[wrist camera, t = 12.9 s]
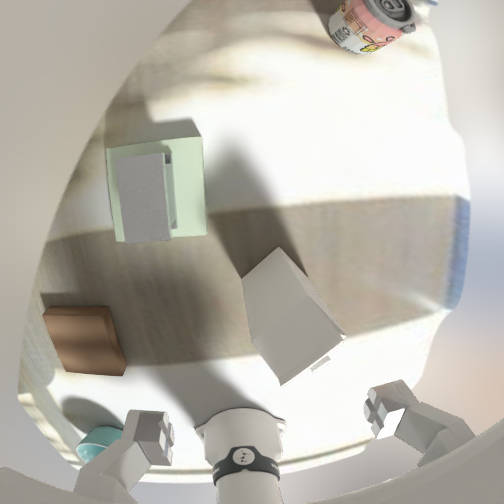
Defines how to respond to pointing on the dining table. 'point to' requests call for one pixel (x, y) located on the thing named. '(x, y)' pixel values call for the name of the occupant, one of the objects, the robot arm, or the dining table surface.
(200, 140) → the stand
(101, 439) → the bowl
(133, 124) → the dining table surface
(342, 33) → the beverage can
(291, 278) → the milk carton
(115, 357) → the stand
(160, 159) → the block
